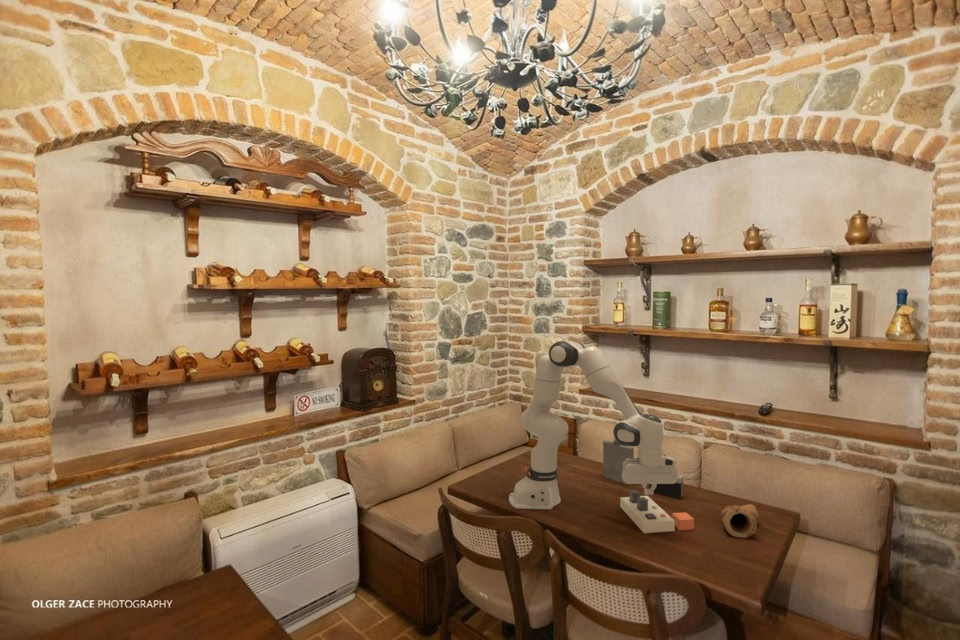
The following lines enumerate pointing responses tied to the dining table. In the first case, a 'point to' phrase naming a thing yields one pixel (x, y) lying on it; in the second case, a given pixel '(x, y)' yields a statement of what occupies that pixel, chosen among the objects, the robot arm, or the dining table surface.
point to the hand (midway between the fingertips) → (648, 494)
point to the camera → (671, 488)
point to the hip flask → (615, 459)
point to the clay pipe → (740, 520)
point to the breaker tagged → (650, 516)
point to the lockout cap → (683, 521)
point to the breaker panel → (647, 526)
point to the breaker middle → (642, 504)
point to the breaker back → (634, 496)
